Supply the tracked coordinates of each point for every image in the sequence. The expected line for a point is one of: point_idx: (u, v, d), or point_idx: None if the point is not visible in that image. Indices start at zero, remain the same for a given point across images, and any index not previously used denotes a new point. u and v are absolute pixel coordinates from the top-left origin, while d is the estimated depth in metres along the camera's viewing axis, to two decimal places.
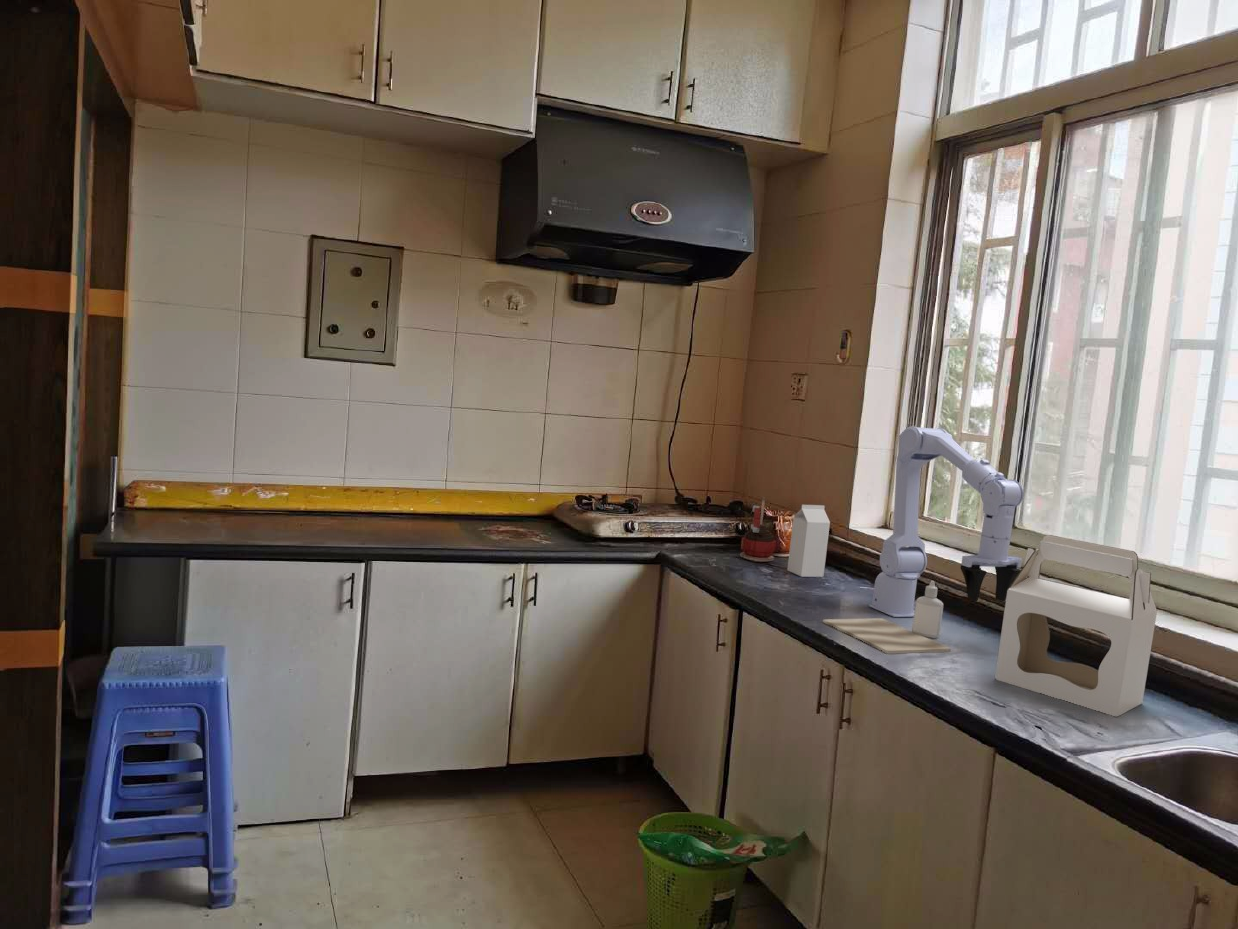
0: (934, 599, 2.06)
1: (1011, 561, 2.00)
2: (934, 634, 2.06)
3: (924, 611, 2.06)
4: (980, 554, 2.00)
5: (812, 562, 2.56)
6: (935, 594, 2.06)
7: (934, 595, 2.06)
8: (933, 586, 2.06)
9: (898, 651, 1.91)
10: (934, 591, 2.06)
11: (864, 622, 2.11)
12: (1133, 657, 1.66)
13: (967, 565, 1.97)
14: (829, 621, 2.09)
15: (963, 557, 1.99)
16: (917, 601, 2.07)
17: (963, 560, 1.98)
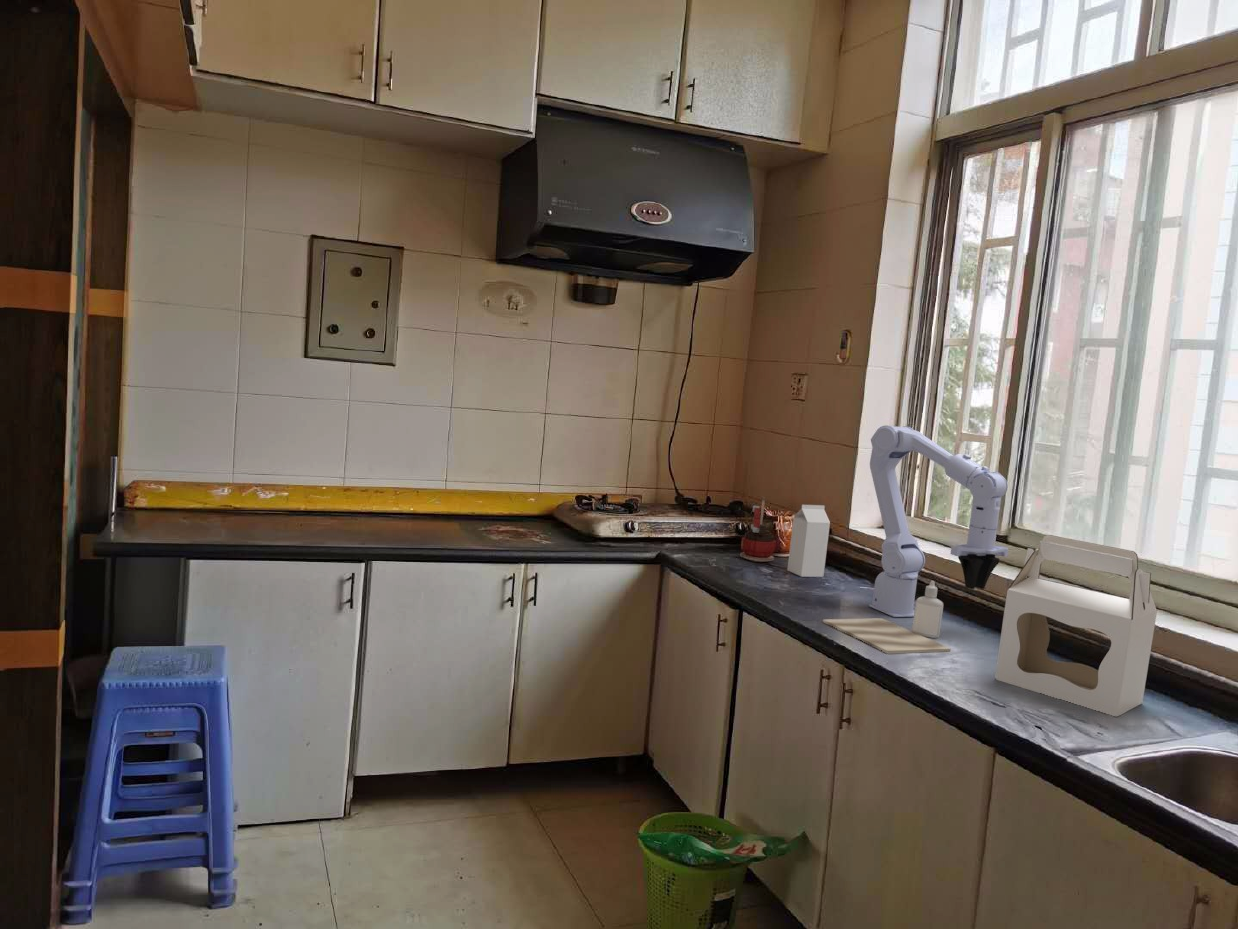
0: (934, 599, 2.06)
1: (998, 550, 2.10)
2: (934, 634, 2.06)
3: (924, 611, 2.06)
4: (968, 544, 2.10)
5: (812, 562, 2.56)
6: (935, 594, 2.06)
7: (934, 595, 2.06)
8: (933, 586, 2.06)
9: (898, 651, 1.91)
10: (934, 591, 2.06)
11: (864, 622, 2.11)
12: (1133, 657, 1.66)
13: (956, 554, 2.07)
14: (829, 621, 2.09)
15: (952, 547, 2.08)
16: (917, 601, 2.07)
17: (952, 549, 2.08)
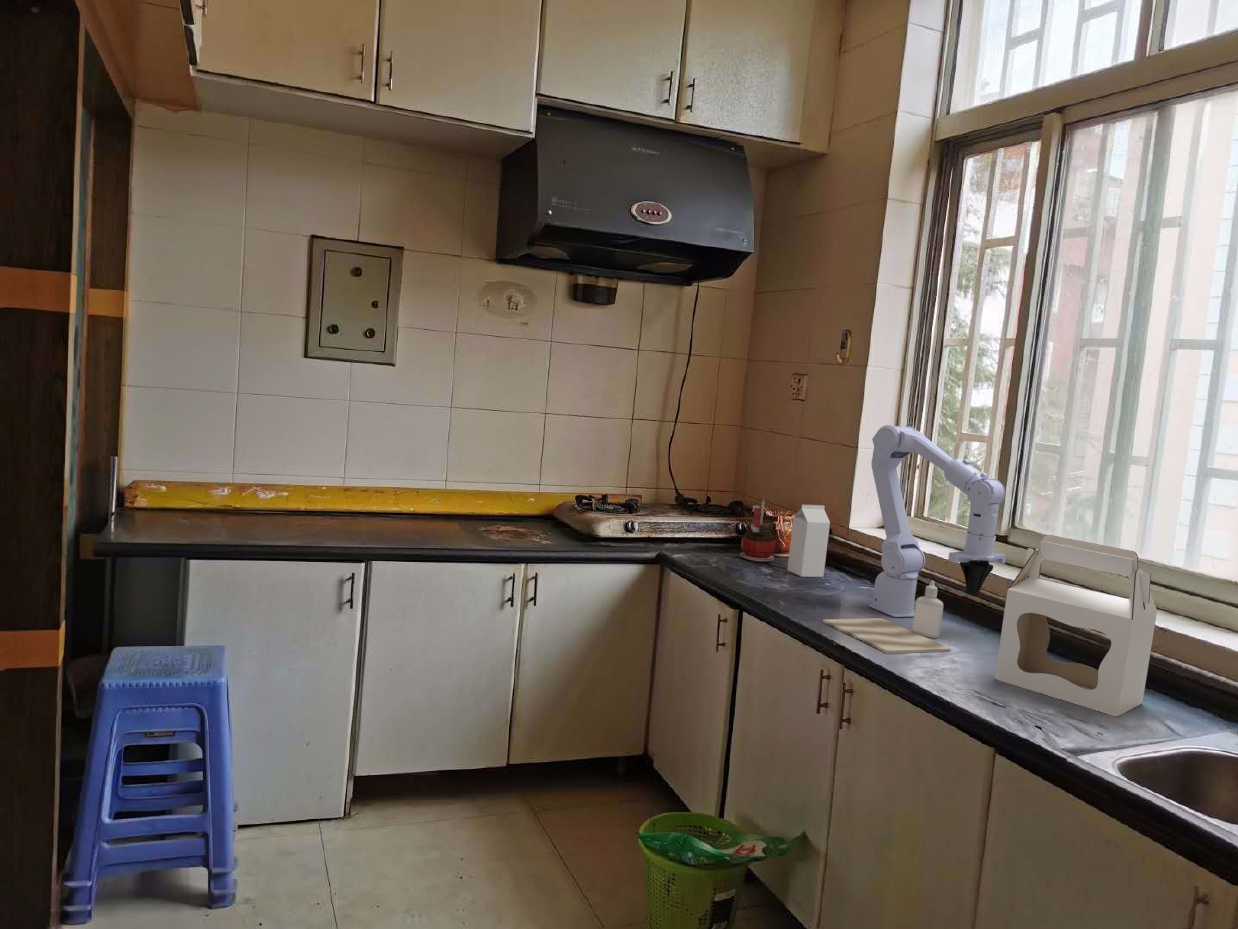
0: (934, 599, 2.06)
1: (995, 557, 2.10)
2: (934, 634, 2.06)
3: (924, 611, 2.06)
4: (966, 550, 2.10)
5: (812, 562, 2.56)
6: (935, 594, 2.06)
7: (934, 595, 2.06)
8: (933, 586, 2.06)
9: (898, 651, 1.91)
10: (934, 591, 2.06)
11: (864, 622, 2.11)
12: (1133, 657, 1.66)
13: (953, 561, 2.07)
14: (829, 621, 2.09)
15: (950, 553, 2.08)
16: (917, 601, 2.07)
17: (950, 556, 2.08)
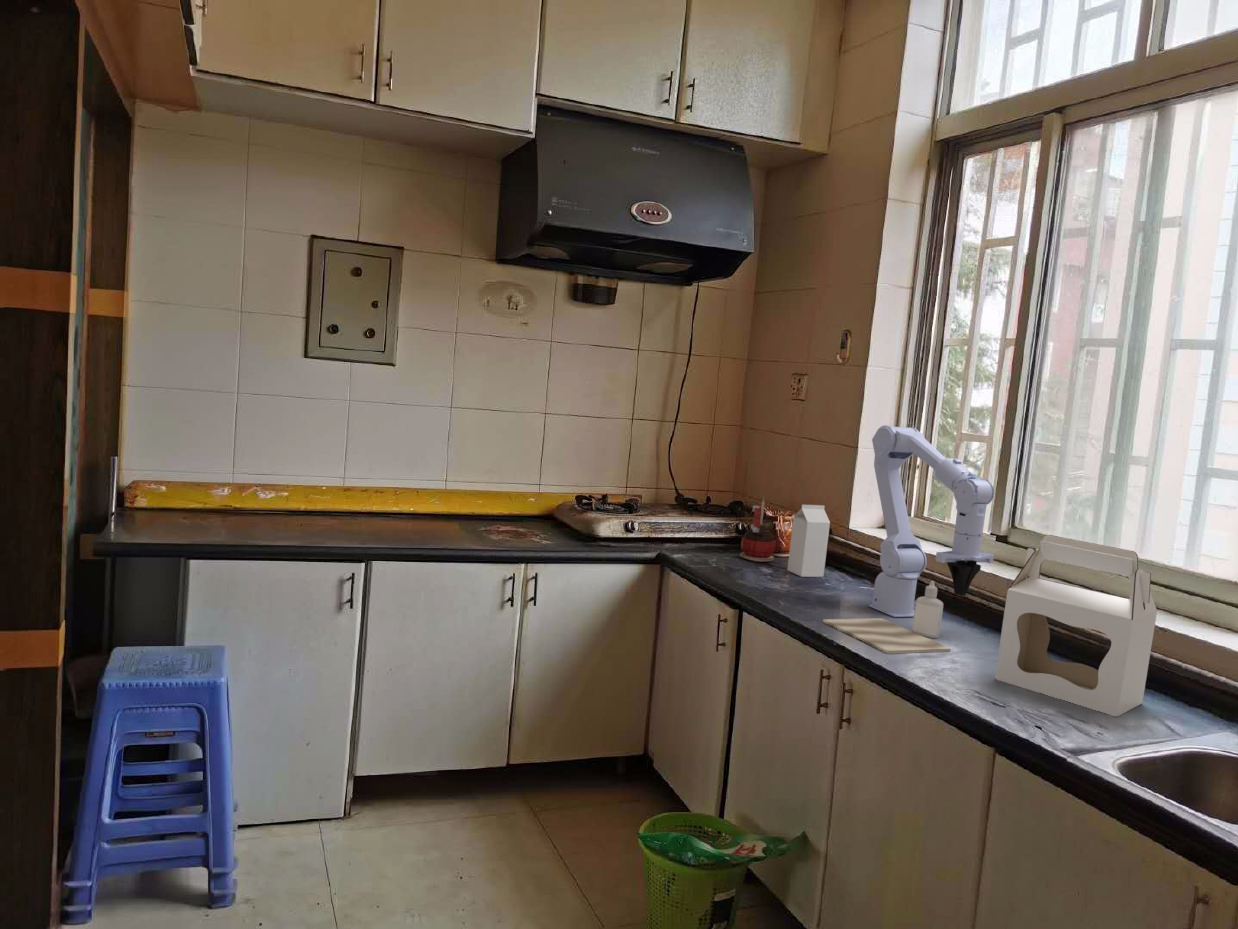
0: (934, 599, 2.06)
1: (983, 557, 2.08)
2: (934, 634, 2.06)
3: (924, 611, 2.06)
4: (953, 550, 2.09)
5: (812, 562, 2.56)
6: (935, 594, 2.06)
7: (934, 595, 2.06)
8: (933, 586, 2.06)
9: (898, 651, 1.91)
10: (934, 591, 2.06)
11: (864, 622, 2.11)
12: (1133, 657, 1.66)
13: (941, 561, 2.06)
14: (829, 621, 2.09)
15: (937, 553, 2.07)
16: (917, 601, 2.07)
17: (937, 556, 2.07)
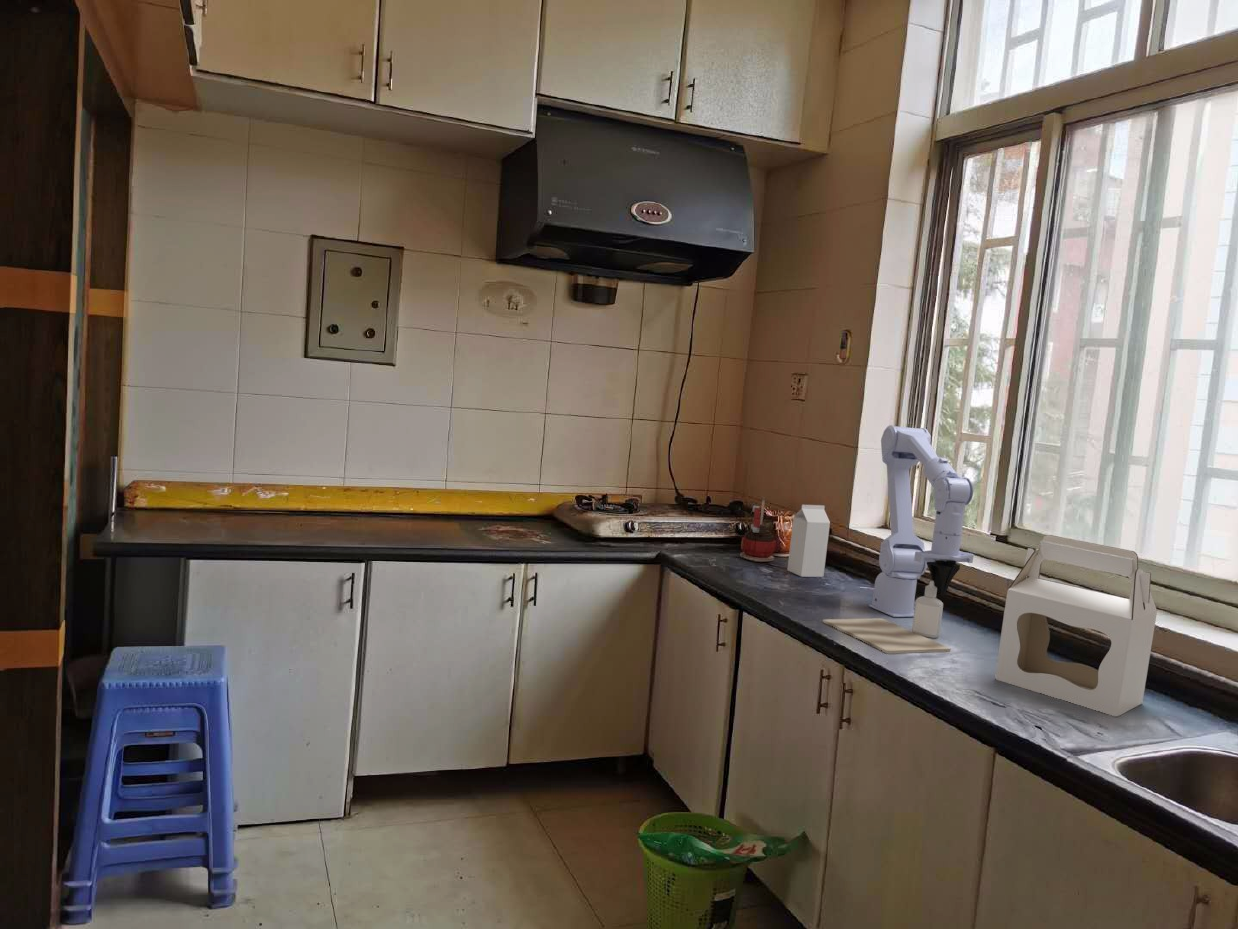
0: (934, 599, 2.06)
1: (962, 557, 2.06)
2: (934, 634, 2.06)
3: (924, 611, 2.06)
4: (932, 550, 2.06)
5: (812, 562, 2.56)
6: (935, 594, 2.06)
7: (934, 595, 2.06)
8: (933, 586, 2.06)
9: (898, 651, 1.91)
10: (934, 591, 2.06)
11: (864, 622, 2.11)
12: (1133, 657, 1.66)
13: (919, 561, 2.03)
14: (829, 621, 2.09)
15: (916, 553, 2.04)
16: (917, 601, 2.07)
17: (916, 556, 2.04)
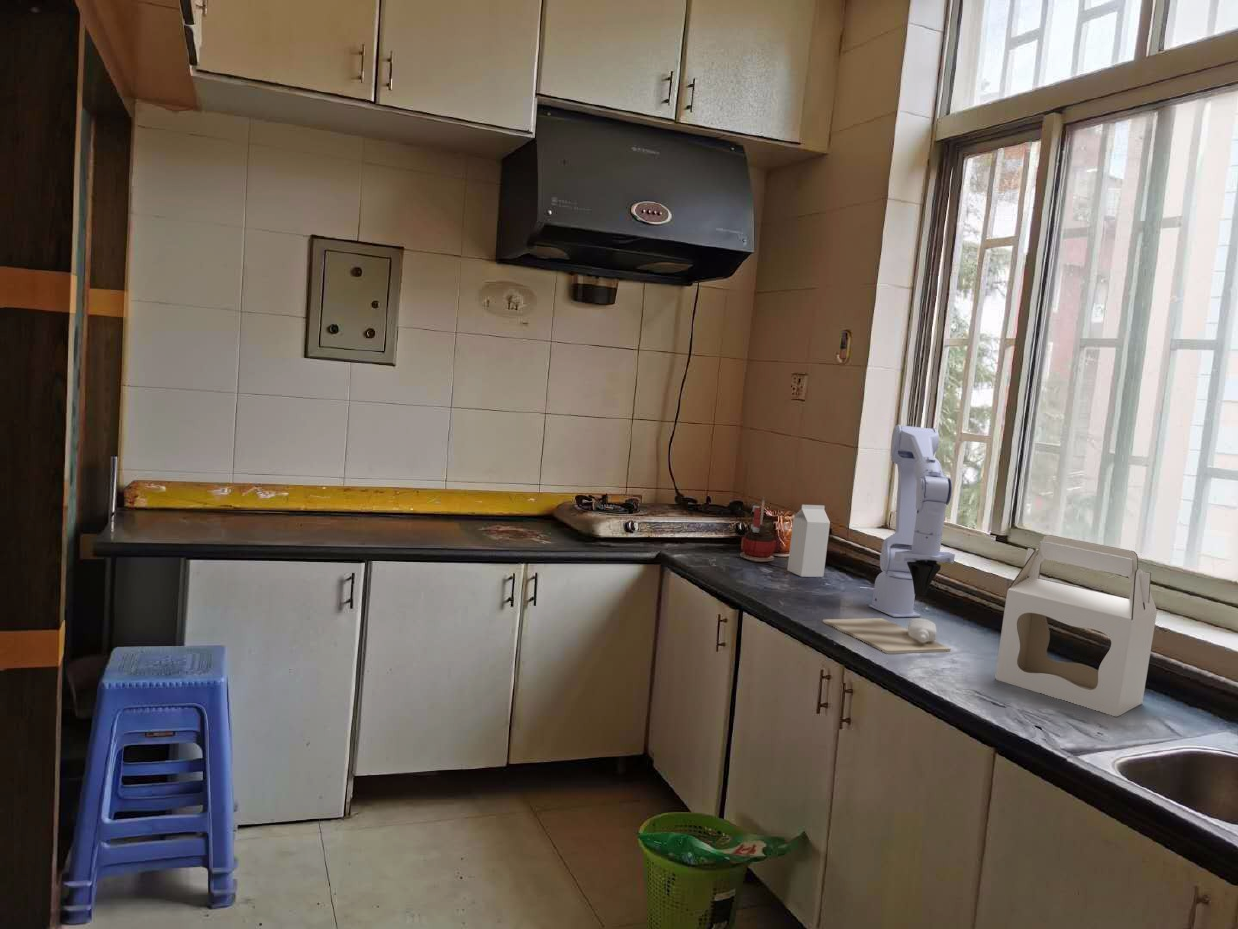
0: None
1: (943, 556, 2.04)
2: None
3: None
4: (913, 550, 2.04)
5: (812, 562, 2.56)
6: None
7: None
8: (924, 640, 1.96)
9: (898, 651, 1.91)
10: (926, 641, 1.97)
11: (864, 622, 2.11)
12: (1133, 657, 1.66)
13: (899, 560, 2.01)
14: (829, 621, 2.09)
15: (896, 553, 2.02)
16: None
17: (896, 556, 2.02)
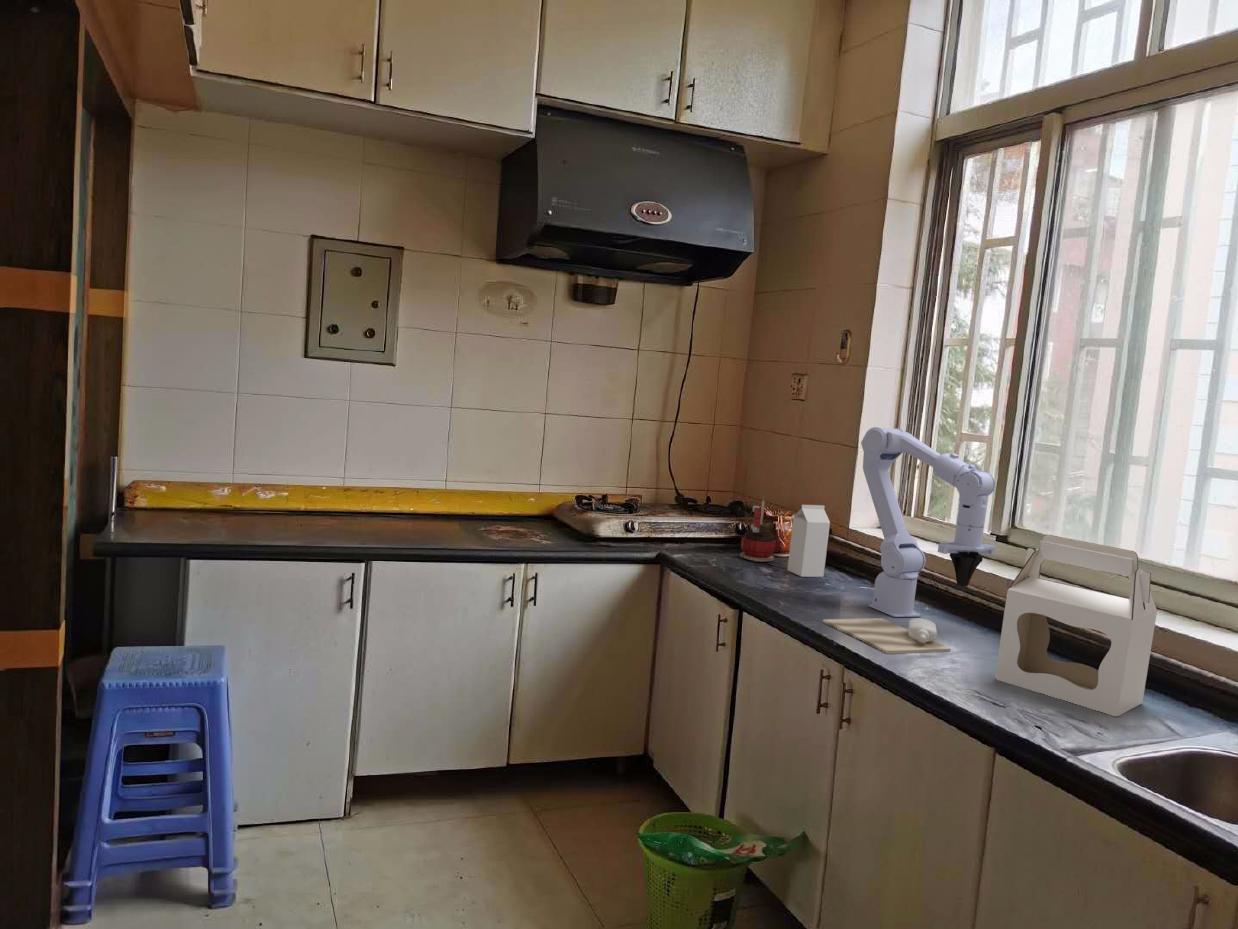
0: None
1: (985, 548, 2.11)
2: None
3: None
4: (955, 542, 2.11)
5: (812, 562, 2.56)
6: None
7: None
8: (924, 640, 1.96)
9: (898, 651, 1.91)
10: (926, 641, 1.97)
11: (864, 622, 2.11)
12: (1133, 657, 1.66)
13: (943, 552, 2.09)
14: (829, 621, 2.09)
15: (939, 544, 2.10)
16: None
17: (939, 547, 2.10)
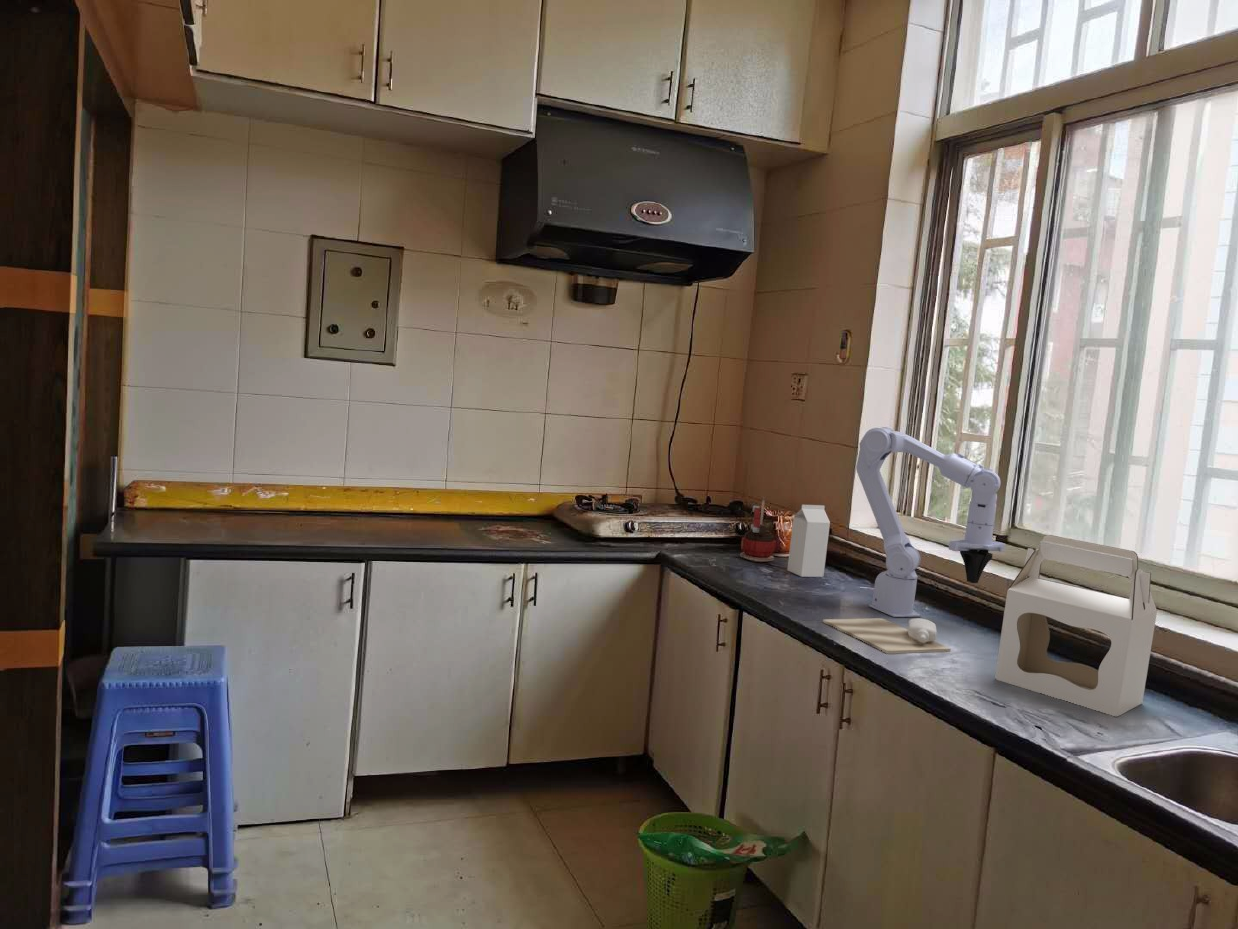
0: None
1: (995, 546, 2.16)
2: None
3: None
4: (966, 539, 2.16)
5: (812, 562, 2.56)
6: None
7: None
8: (924, 640, 1.96)
9: (898, 651, 1.91)
10: (926, 641, 1.97)
11: (864, 622, 2.11)
12: (1133, 657, 1.66)
13: (954, 549, 2.13)
14: (829, 621, 2.09)
15: (950, 542, 2.14)
16: None
17: (950, 545, 2.14)
